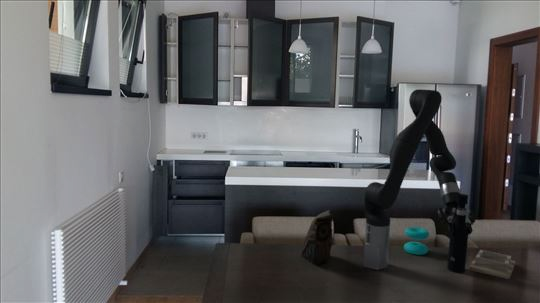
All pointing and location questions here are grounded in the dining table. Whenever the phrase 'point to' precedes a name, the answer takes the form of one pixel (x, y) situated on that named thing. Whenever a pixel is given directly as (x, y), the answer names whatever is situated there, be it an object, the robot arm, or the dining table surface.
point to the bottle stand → (493, 264)
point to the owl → (318, 240)
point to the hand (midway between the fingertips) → (461, 233)
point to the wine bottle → (458, 238)
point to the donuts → (416, 234)
